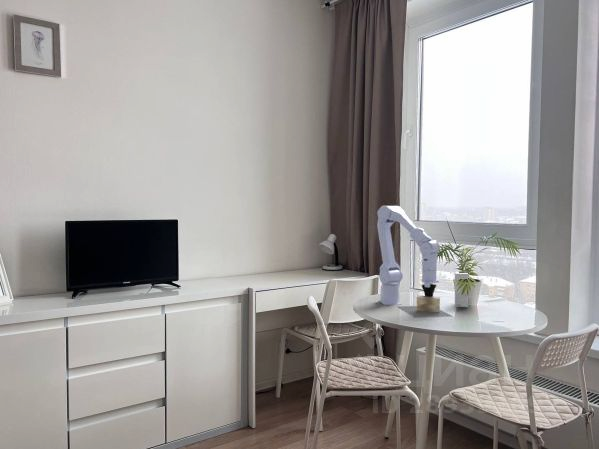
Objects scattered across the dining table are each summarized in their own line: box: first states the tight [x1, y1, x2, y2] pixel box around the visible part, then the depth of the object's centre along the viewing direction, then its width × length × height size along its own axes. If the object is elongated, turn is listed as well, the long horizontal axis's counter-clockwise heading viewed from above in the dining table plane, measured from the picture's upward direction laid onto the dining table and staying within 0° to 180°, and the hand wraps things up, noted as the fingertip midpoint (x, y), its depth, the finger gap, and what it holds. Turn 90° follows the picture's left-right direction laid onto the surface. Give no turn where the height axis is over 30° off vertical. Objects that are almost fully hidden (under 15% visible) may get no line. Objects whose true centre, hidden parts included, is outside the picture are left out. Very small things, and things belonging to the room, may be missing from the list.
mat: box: [396, 305, 453, 318], centre depth 192 cm, size 20×16×1 cm
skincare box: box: [454, 271, 470, 308], centre depth 204 cm, size 8×6×15 cm
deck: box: [416, 295, 441, 312], centre depth 191 cm, size 9×2×6 cm, turn 68°
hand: (428, 302), depth 193 cm, fingers closed
